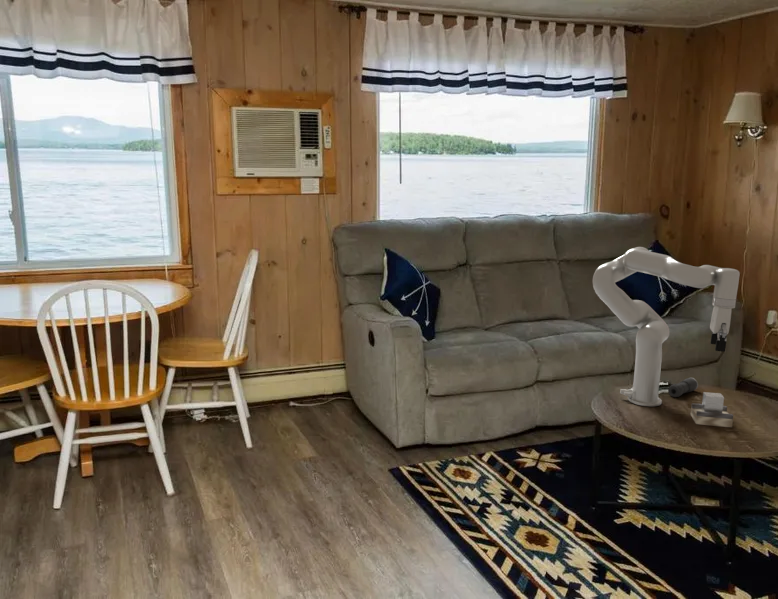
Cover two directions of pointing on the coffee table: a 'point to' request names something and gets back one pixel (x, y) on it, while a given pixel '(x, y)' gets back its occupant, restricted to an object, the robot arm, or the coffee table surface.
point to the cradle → (711, 416)
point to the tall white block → (712, 402)
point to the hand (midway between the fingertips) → (717, 347)
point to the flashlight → (683, 387)
